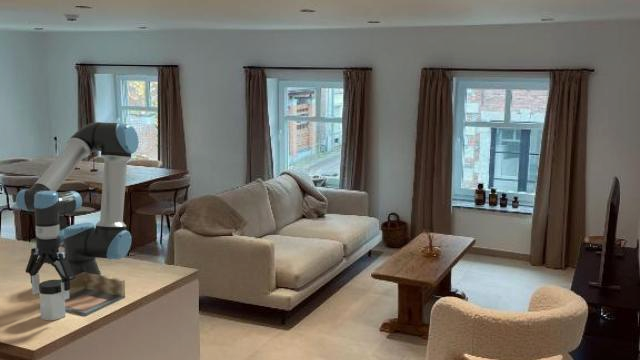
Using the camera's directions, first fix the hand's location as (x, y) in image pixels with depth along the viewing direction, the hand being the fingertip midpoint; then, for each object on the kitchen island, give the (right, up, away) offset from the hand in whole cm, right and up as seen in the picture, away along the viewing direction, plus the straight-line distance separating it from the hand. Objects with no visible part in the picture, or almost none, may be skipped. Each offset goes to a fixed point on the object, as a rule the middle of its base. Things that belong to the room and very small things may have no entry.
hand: (50, 296), depth 219 cm
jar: (0, -8, +2) cm, 8 cm away
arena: (+6, -5, +16) cm, 18 cm away
